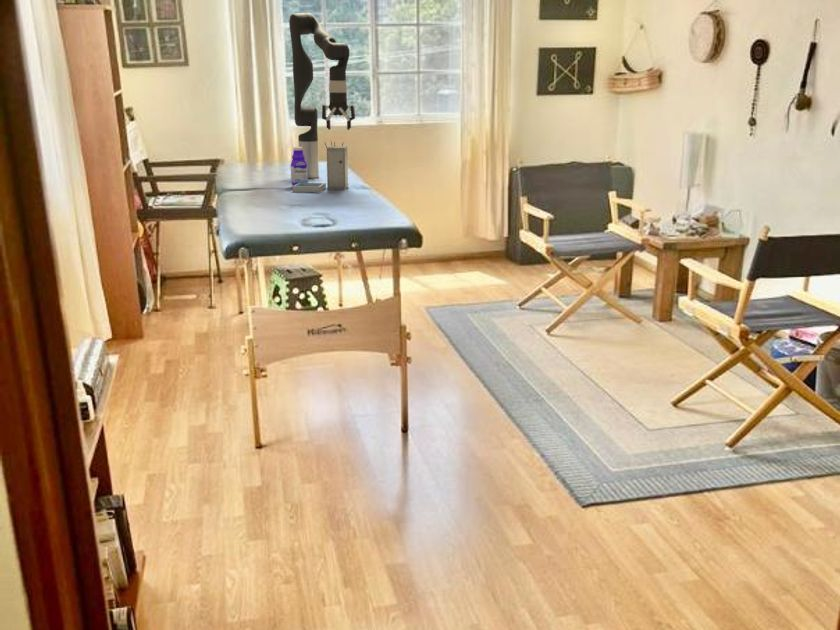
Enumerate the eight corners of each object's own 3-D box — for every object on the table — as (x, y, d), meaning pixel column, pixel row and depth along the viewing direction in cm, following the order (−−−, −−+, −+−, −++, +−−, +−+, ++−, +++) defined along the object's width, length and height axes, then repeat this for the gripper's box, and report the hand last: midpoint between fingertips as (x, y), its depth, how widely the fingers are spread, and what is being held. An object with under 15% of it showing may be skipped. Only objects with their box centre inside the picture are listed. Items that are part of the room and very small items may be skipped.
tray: (299, 188, 357) (298, 182, 356) (325, 188, 356) (325, 183, 355) (292, 192, 346) (292, 186, 345) (319, 192, 345) (319, 187, 344)
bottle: (294, 187, 358) (292, 148, 353) (289, 186, 363) (288, 146, 358) (309, 186, 361) (308, 147, 356) (305, 185, 366) (303, 146, 361)
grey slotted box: (330, 187, 361) (329, 146, 356) (348, 187, 360) (347, 146, 355) (327, 189, 354) (326, 147, 349) (345, 189, 353) (344, 148, 348)
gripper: (355, 91, 353) (356, 129, 358) (323, 91, 354) (324, 128, 359) (352, 91, 346) (353, 130, 351) (320, 91, 347) (321, 130, 352)
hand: (338, 129), depth 355 cm, fingers open, 8 cm apart
